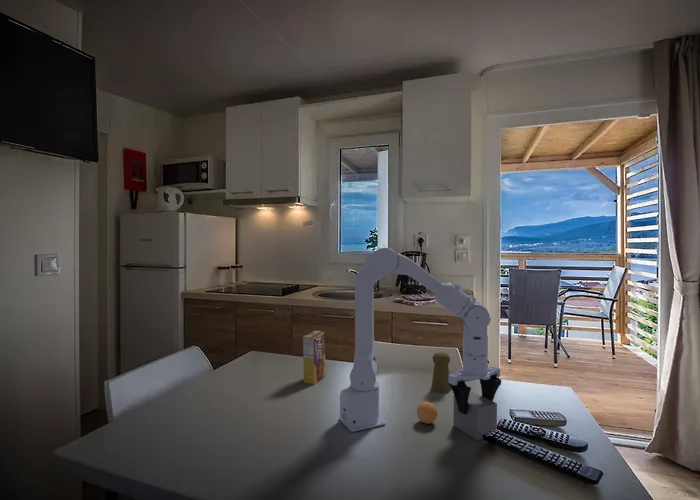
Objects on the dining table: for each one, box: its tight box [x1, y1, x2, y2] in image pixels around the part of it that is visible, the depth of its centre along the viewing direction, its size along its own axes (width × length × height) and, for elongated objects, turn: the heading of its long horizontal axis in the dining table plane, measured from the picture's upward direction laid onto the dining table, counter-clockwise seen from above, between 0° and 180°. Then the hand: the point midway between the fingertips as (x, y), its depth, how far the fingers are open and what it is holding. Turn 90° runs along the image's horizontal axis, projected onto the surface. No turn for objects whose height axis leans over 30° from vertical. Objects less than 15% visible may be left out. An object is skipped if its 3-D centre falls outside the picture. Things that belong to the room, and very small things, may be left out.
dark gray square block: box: [453, 391, 498, 441], centre depth 91 cm, size 6×8×7 cm
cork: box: [430, 352, 452, 393], centre depth 118 cm, size 6×6×11 cm
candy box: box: [302, 330, 327, 385], centre depth 126 cm, size 9×4×15 cm, turn 160°
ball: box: [416, 401, 438, 425], centre depth 95 cm, size 5×5×5 cm
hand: (475, 409), depth 91 cm, fingers open, 7 cm apart
